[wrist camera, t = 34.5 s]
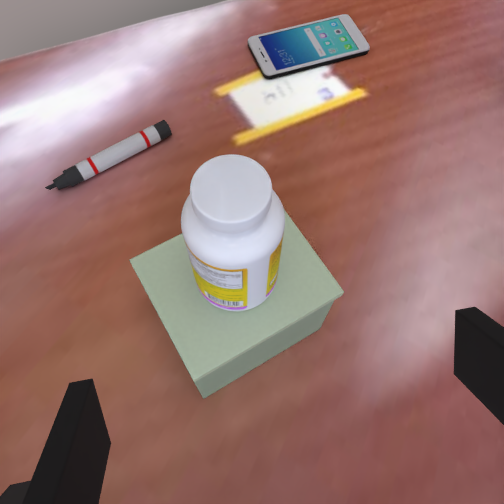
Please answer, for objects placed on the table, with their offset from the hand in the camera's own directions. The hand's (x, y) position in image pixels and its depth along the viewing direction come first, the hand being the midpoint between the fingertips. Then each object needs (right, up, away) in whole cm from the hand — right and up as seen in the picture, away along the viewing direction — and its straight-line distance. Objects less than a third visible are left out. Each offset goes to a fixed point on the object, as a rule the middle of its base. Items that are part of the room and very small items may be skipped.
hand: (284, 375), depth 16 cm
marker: (-17, +15, +37) cm, 44 cm away
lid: (-3, +2, +22) cm, 22 cm away
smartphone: (+6, +32, +45) cm, 56 cm away
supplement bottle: (-2, +2, +21) cm, 22 cm away
